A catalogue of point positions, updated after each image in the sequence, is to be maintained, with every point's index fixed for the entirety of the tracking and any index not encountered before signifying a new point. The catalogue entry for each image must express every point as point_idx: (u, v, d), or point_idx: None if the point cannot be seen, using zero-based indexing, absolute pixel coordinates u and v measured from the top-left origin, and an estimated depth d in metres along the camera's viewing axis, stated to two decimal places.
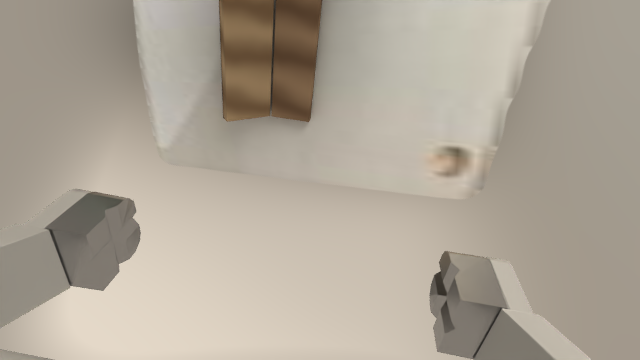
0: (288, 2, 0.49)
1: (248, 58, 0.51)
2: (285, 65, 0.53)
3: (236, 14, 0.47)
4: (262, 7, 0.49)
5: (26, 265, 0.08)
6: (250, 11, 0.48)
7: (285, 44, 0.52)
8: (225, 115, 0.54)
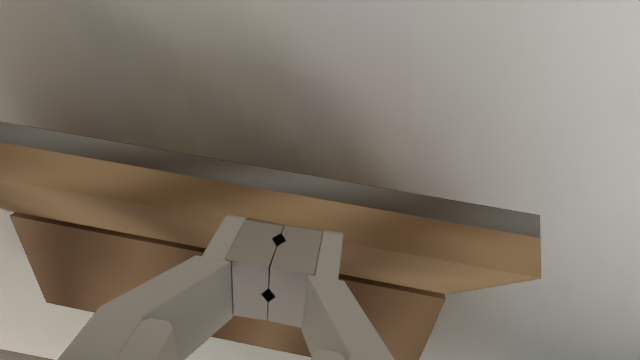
0: None
1: (164, 228, 0.13)
2: None
3: None
4: (348, 270, 0.14)
5: (209, 298, 0.08)
6: None
7: None
8: None
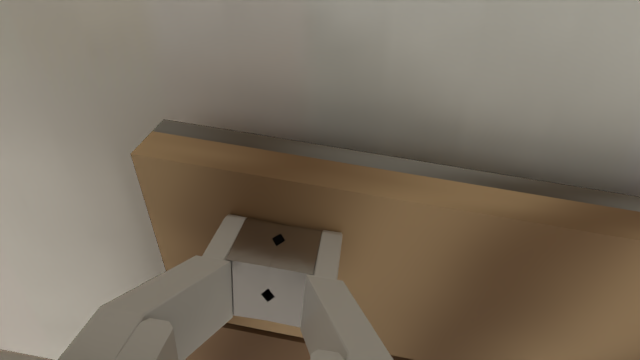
0: None
1: (472, 306, 0.10)
2: None
3: None
4: None
5: (209, 298, 0.08)
6: None
7: None
8: (172, 145, 0.09)
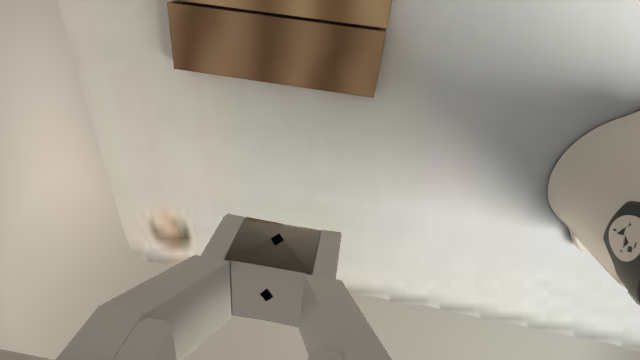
0: (344, 46, 0.33)
1: None
2: (255, 35, 0.34)
3: None
4: (339, 2, 0.31)
5: (208, 298, 0.08)
6: None
7: (286, 38, 0.34)
8: None
